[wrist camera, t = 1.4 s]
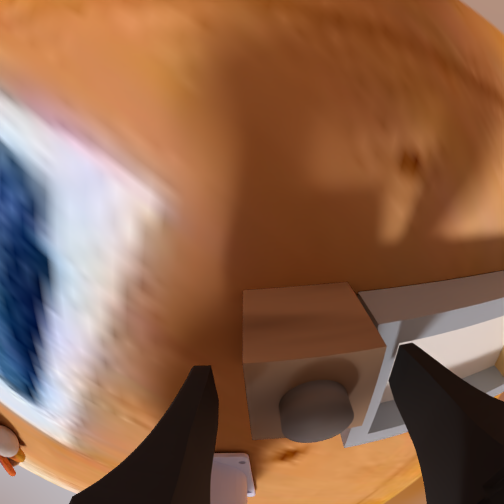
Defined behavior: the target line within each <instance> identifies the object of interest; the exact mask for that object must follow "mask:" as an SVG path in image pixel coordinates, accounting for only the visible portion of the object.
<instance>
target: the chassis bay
mask: <svg viewBox="0 0 504 504" xmlns="http://www.w3.org/2000/svg"><path fill="white" fill-rule="evenodd" d="M357 298H358V299H359V301H360V302H361V304H362V306H363V307H364V309H365V311H366V312H367V314H368V315H369V317H370V319H371V320H372V322H373V324H374V325H375V327H376V329H377V330H378V332H379V334H380V335H381V337H382V339H383V340H384V342H385V344H386V346H387V348H386V352H385V355H384V359H383V363H382V366H381V370H380V373H379V377H378V380H377V383H376V386H375V390H374V393H373V396H372V399H371V402H370V405H369V408H368V411H367V413H366V416H365V419H364V422H363V424H362V426H358V427H353V428H348V429H345V430H344V431H343V432H341V433H340V434H341V438H342V442H343V446H344V448H346V447H351V446H356V445H361V444H365V443H369V442H373V441H377V440H381V439H385V438H389V437H392V436H396V435H399V434H402V433H406V432H408V430H407V428H406V425H405V423H404V421H403V419H402V417H401V414H400V412H399V410H398V408H397V406H396V403H395V401H394V398H393V395H392V391H391V388H390V385H389V381H388V380H389V377H390V374H391V371H392V368H393V365H394V361H395V358H396V355H397V351H398V348H399V345H402V344H407V343H414V344H415V345H417V346H418V347H420V348H421V349H422V350H424V351H425V352H426V353H427V354H429V355H430V356H431V357H433V358H434V359H435V360H437V361H438V362H439V363H441V364H442V365H443V366H445V367H446V368H447V369H449V370H450V371H451V372H453V373H454V374H456V375H457V376H458V377H460V378H461V379H463V380H464V381H466V382H467V383H469V384H470V385H472V386H474V387H475V388H477V389H479V390H481V391H482V392H484V393H486V394H488V395H490V396H492V397H494V396H496V395H498V394H500V393H502V392H504V270H503V271H498V272H492V273H487V274H481V275H475V276H470V277H464V278H457V279H451V280H445V281H438V282H432V283H425V284H418V285H410V286H403V287H395V288H387V289H379V290H371V291H362V292H358V297H357Z"/></svg>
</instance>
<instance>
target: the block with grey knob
mask: <svg viewBox="0 0 504 504" xmlns="http://www.w3.org/2000/svg"><path fill="white" fill-rule="evenodd" d="M386 348H387V346H386V344H385V342H384V340H383V339H382V337H381V335H380V334H379V332H378V330H377V329H376V327H375V325H374V324H373V322H372V320H371V319H370V317H369V315H368V314H367V312H366V311H365V309H364V307H363V306H362V304H361V302H360V301H359V299H358V298H357V296H356V294H355V293H354V291H353V290H352V288H351V287H350V285H349V283H348V282H339V283H328V284H317V285H305V286H293V287H280V288H266V289H252V290H243V371H244V379H245V387H246V395H247V403H248V411H249V419H250V426H251V434H252V440H261V439H275V438H288V439H290V440H292V441H295V442H302V443H311V442H318V441H323V440H326V439H329V438H332V437H334V436H336V435H338V434H340V433H341V432H343V431H344V430H345V429H348V428H353V427H358V426H362V424H363V422H364V419H365V416H366V413H367V411H368V408H369V405H370V402H371V399H372V396H373V393H374V390H375V386H376V383H377V380H378V377H379V373H380V370H381V366H382V363H383V359H384V355H385V352H386Z"/></svg>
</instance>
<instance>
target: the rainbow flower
mask: <svg viewBox="0 0 504 504" xmlns="http://www.w3.org/2000/svg"><path fill="white" fill-rule="evenodd" d="M24 460H25V454H24V452H23V451H22V450H21V449H20V448H19V442H18V439H17V437H16V435H15V434H14V433H13V431H11V430H10V429H9V428H7V427H5V426H2V425H0V463H1V464H2V465H3V467H4V468H5V470H6V471H7V472H8V473H9V475H11V476H15V474H16V472H15V471H14V469H13V467H15V466H17V465H18V464H19V463H20V462H23V461H24Z"/></svg>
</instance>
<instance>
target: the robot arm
mask: <svg viewBox="0 0 504 504" xmlns="http://www.w3.org/2000/svg"><path fill="white" fill-rule="evenodd" d="M388 381H389V385H390V388H391V391H392V395H393V398H394V401H395V403H396V406H397V408H398V410H399V412H400V414H401V417H402V419H403V421H404V423H405V425H406V428H407V430H408V432H409V434H410V437H411V439H412V441H413V444H414V446H415V449H416V452H417V456H418V460H419V463H420V467H421V472H422V476H423V481H424V486H425V493H426V501H427V504H504V402H503V401H501V400H498V399H496V398H494V397H492V396H490V395H488V394H486V393H484V392H482V391H481V390H479V389H477V388H475V387H474V386H472V385H470V384H469V383H467V382H466V381H464V380H463V379H461V378H460V377H458V376H457V375H456V374H454V373H453V372H451V371H450V370H449V369H447V368H446V367H445V366H443V365H442V364H441V363H439V362H438V361H437V360H435V359H434V358H433V357H431V356H430V355H429V354H427V353H426V352H425V351H424V350H422V349H421V348H420V347H418V346H417V345H415V344H414V343H407V344H402V345H399V348H398V351H397V355H396V358H395V361H394V365H393V368H392V371H391V374H390V377H389V380H388ZM218 408H219V400H218V395H217V391H216V387H215V382H214V378H213V373H212V369H211V366H194V367H193V368H192V369H191V371H190V373H189V375H188V377H187V379H186V381H185V382H184V384H183V386H182V388H181V389H180V391H179V393H178V394H177V396H176V398H175V399H174V401H173V402H172V404H171V405H170V407H169V408H168V410H167V411H166V413H165V414H164V416H163V417H162V418H161V420H160V421H159V422H158V424H157V425H156V426H155V428H154V429H153V430H152V431H151V433H150V434H149V435H148V436H147V437H146V438H145V440H144V441H143V442H142V443H141V444H140V445H139V446H138V447H137V448H136V449H135V450H134V451H133V452H132V453H131V454H130V455H129V456H128V457H127V458H126V459H125V460H124V461H123V462H122V463H121V464H119V465H118V466H117V467H116V468H114V469H113V470H112V471H111V472H109V473H108V474H107V475H105V476H104V477H103V478H102V479H100V480H99V481H97V482H96V483H94V484H93V485H91V486H90V487H88V488H86V489H85V490H83V491H81V492H80V493H78V494H76V495H74V496H73V497H72V499H71V501H70V503H69V504H247V497H252V496H255V488H254V482H253V477H252V472H251V466H250V460H249V456H248V454H246V453H214V450H215V443H216V436H217V428H218Z"/></svg>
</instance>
